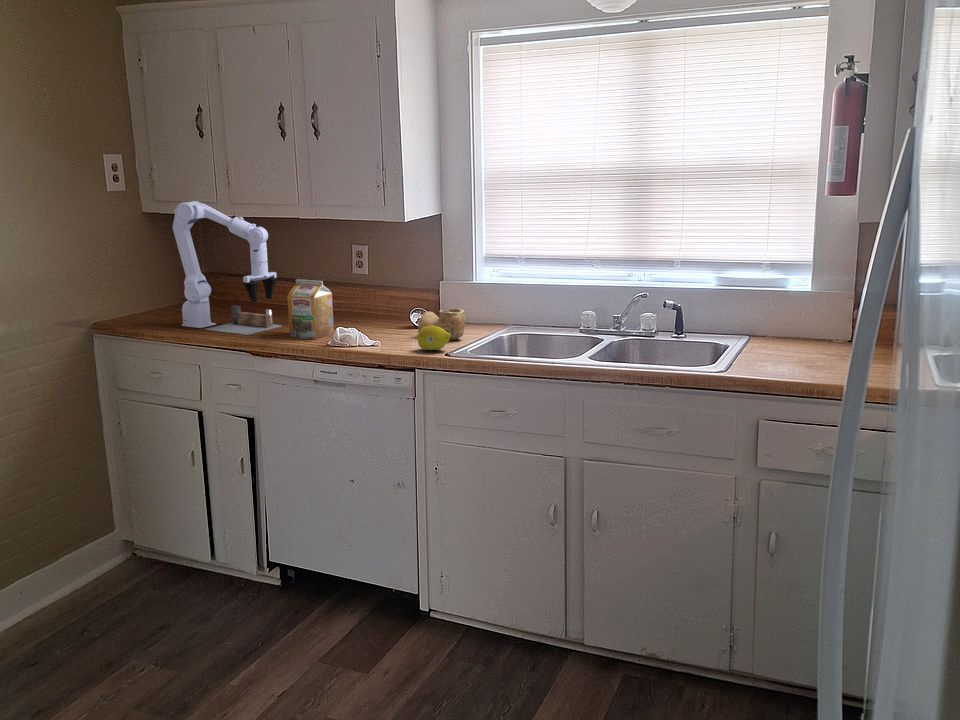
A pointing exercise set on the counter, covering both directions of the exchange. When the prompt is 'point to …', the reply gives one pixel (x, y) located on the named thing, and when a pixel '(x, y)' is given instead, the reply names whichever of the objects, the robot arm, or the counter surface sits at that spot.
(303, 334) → the milk carton
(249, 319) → the bar
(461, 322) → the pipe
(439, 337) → the lemon
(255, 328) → the mat
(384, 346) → the counter surface
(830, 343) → the counter surface
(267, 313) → the hitch post
